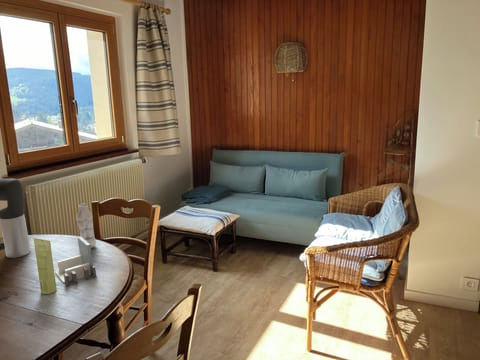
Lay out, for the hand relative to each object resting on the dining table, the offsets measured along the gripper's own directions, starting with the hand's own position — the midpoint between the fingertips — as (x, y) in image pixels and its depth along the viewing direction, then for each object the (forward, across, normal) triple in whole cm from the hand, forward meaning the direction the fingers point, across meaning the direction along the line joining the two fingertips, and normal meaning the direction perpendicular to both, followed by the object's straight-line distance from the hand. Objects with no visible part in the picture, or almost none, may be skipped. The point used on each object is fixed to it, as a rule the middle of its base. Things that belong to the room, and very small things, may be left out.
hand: (2, 241), depth 125 cm
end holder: (+23, +8, +22) cm, 33 cm away
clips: (+22, +1, +22) cm, 31 cm away
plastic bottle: (+35, +29, +22) cm, 50 cm away
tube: (+11, 0, +22) cm, 25 cm away
